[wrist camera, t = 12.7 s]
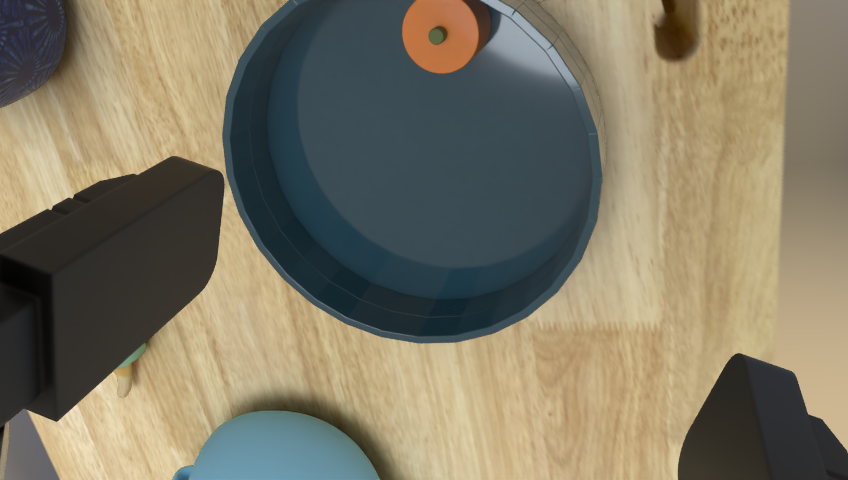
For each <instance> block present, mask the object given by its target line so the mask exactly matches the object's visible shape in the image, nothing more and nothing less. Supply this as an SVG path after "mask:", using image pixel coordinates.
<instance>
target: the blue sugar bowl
mask: <svg viewBox="0 0 848 480" xmlns="http://www.w3.org/2000/svg"><path fill="white" fill-rule="evenodd" d="M172 480H380V479H379V477H378V475H377V472H376V470H375V469H374V467H373V465H372V464H371V462H370V461H369V459H368V458H367V456H366V455H365V453H364V452H363V451H362V450H361V449H360V447H359V446H358V445H357V444H356V443H355V442H354V441H353V440H352V439H351V438H349V437H348V436H347V435H346V434H345V433H343V432H342V431H340V430H339V429H337V428H336V427H334V426H332V425H331V424H329V423H327V422H325V421H323V420H320V419H318V418H316V417H313V416H310V415H306V414H302V413H297V412H290V411H280V410H272V411H256V412H250V413H246V414H243V415H239V416H237V417H235V418H233V419H231V420H229V421H227V422H225V423H224V424H222V425H221V426H220V427H218V428H217V429H216V430H215V431H214V432H213V434H212V435H211V436H210V437H209V439H208V440H207V442H206V443H205V445H204V446H203V448H202V450H201V451H200V453H199V455H198V457H197V459H196V461H195V464H194V465H192V466H186V467H183V468H181V469H179V470H178V471H177V472H176V473H175V475H174V477H173V479H172Z"/></svg>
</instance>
